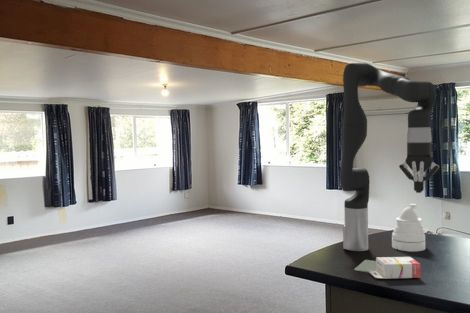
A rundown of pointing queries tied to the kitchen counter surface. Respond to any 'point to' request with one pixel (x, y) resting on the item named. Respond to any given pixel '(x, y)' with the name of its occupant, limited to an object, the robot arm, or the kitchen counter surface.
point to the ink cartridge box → (396, 268)
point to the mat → (366, 266)
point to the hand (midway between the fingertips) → (418, 192)
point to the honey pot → (408, 231)
